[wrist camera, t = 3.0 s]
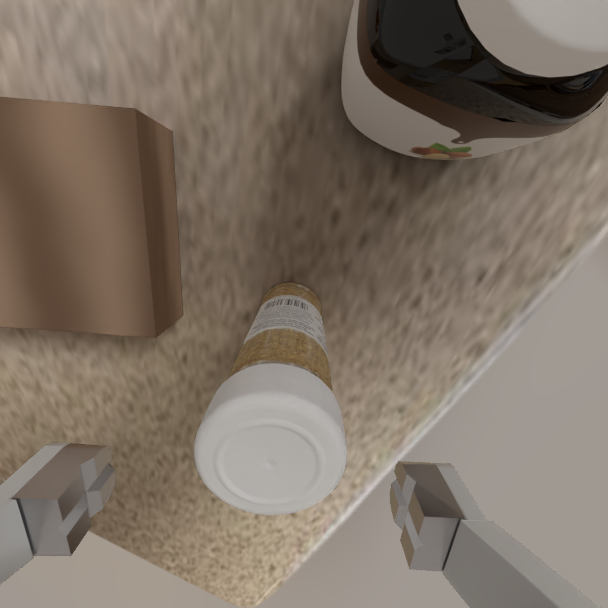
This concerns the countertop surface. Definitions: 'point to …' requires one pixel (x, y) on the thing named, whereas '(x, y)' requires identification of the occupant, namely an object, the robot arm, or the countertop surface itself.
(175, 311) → the walnut base
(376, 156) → the countertop surface
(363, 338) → the countertop surface
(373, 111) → the spread jar
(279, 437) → the sprinkles bottle
